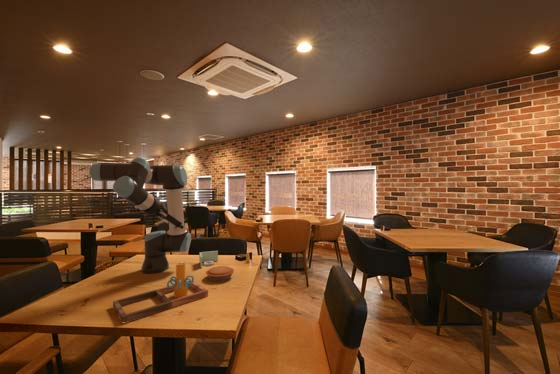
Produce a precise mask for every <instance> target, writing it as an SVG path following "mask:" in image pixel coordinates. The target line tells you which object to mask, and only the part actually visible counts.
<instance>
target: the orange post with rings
mask: <svg viewBox="0 0 560 374" xmlns="http://www.w3.org/2000/svg"><path fill="white" fill-rule="evenodd" d="M175 269H176V270H175V275H176V276H174V275H173V276H171V277H170V279H169V280H168V281H167V283H166V287H168V288H170V289H172V288H174V291H173V296H174V297H173V298H174V299H178V298H181V297H184V296H187V295H189V292H188V291H189V290H188V289H189V288H191V285H192V282H193V281H194V280H195V277H194V276H193V274H192V275H191V274H190V275H187V276H186V262H177V263H176V265H175ZM191 280H192V281H191ZM187 281H190V283H188V282H187ZM173 282H174V283H173ZM194 282H195V281H194ZM170 284H171V285H174V286H173V287H170V286H171V285H170ZM187 284H190V285H189V286H188V285H187Z"/></svg>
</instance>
